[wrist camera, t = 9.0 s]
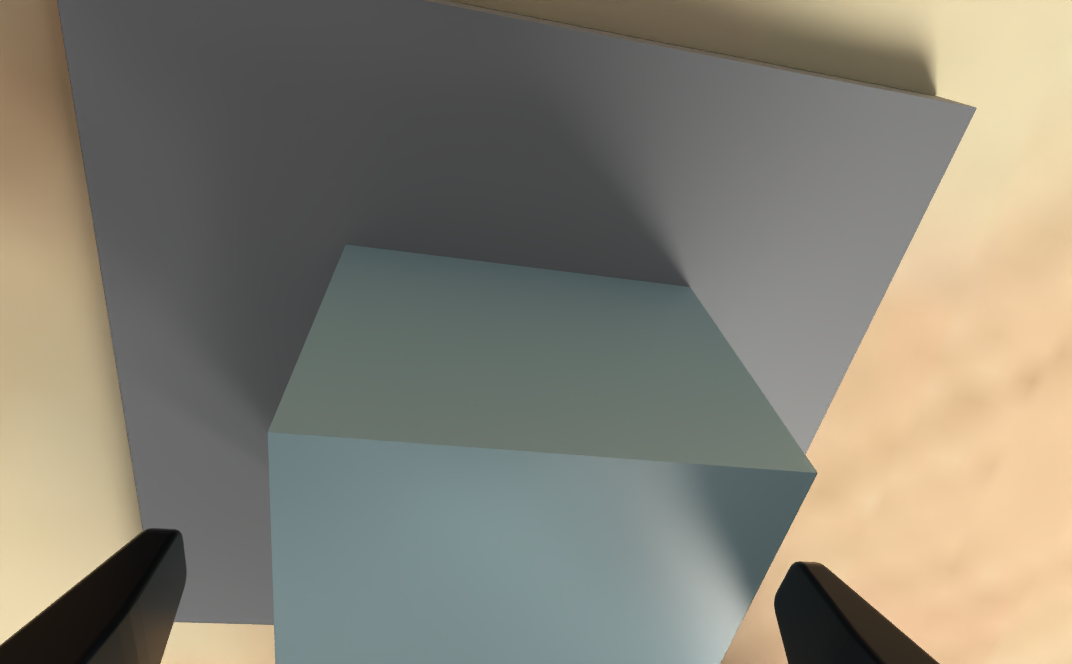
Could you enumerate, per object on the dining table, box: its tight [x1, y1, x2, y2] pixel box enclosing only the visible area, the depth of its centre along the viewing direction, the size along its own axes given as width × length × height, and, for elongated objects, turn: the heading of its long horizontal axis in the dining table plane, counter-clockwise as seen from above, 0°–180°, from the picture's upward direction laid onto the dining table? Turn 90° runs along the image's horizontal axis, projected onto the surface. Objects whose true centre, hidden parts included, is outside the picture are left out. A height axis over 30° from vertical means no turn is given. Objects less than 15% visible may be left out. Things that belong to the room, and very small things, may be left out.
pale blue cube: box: [268, 245, 817, 664], centre depth 11 cm, size 6×6×5 cm
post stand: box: [57, 0, 976, 625], centre depth 12 cm, size 14×14×5 cm
